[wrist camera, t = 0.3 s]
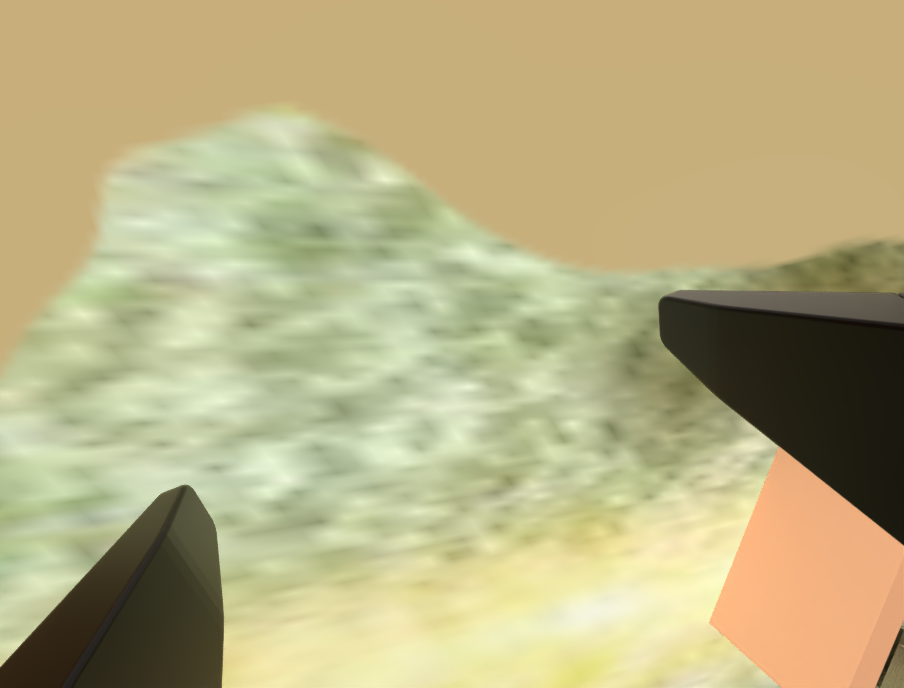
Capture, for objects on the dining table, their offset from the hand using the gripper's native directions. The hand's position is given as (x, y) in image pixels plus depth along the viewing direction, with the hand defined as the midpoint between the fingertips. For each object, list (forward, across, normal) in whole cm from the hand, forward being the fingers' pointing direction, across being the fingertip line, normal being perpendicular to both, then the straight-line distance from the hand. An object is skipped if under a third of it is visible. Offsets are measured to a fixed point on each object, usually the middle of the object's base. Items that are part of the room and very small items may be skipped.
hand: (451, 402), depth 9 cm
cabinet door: (+10, -18, +24) cm, 32 cm away
